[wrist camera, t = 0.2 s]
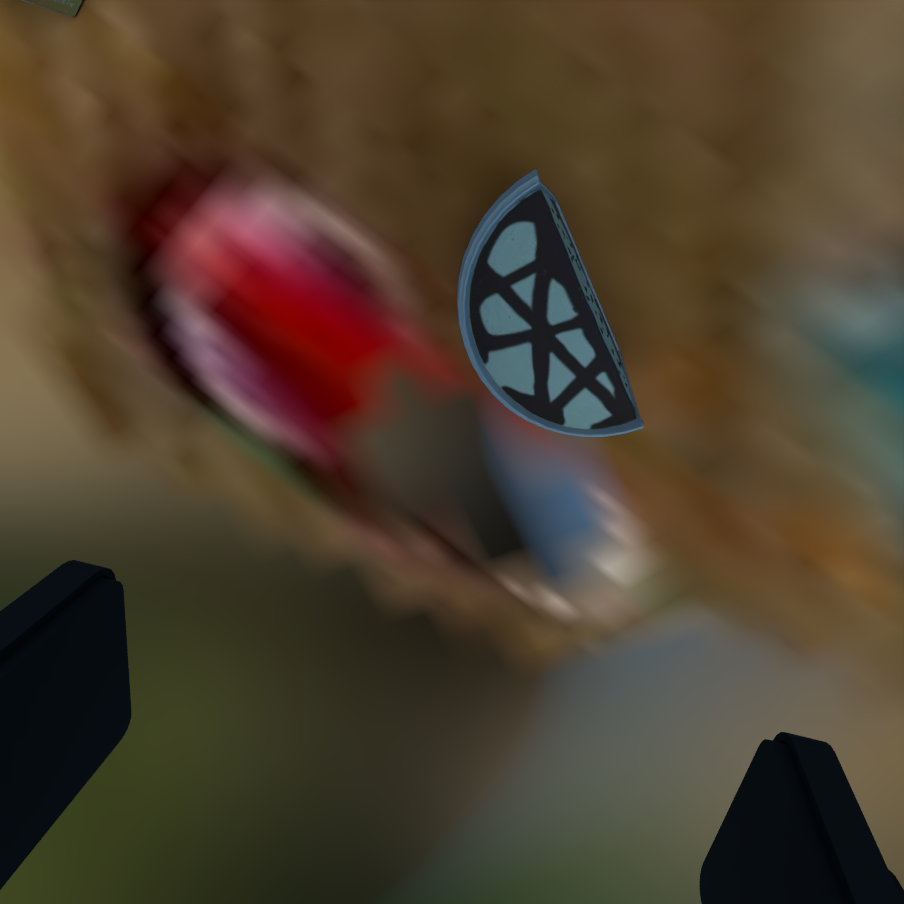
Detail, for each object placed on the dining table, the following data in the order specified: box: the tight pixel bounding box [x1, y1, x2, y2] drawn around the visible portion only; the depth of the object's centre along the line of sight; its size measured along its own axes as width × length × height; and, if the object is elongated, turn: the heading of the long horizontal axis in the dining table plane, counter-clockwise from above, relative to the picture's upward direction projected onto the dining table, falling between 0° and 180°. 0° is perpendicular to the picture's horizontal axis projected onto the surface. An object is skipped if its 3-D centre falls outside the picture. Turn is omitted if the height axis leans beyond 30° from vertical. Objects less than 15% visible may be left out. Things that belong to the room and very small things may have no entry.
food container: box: [457, 169, 644, 437], centre depth 33 cm, size 12×6×10 cm, turn 27°
